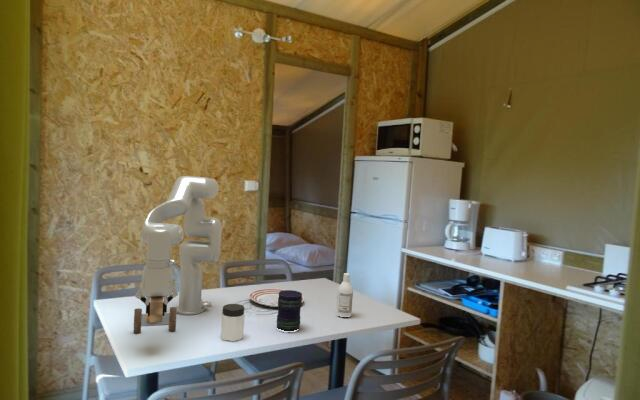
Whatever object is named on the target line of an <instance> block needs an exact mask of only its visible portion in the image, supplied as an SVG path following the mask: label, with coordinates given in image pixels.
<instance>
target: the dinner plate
mask: <svg viewBox="0 0 640 400" xmlns="http://www.w3.org/2000/svg"><path fill="white" fill-rule="evenodd" d="M284 290H285V289H283V288H282V289H281V288H261V289H256V290H253V291H251V292H250V293H249V294H248V298H249V299H250V300H251V301H253V302H254V303H256V304H258V305H261V306H263V305H265V306H264V307H267V306H272V307H271V308H275V307H278V305H268V304H263V303H260V302H259V299H260V298H263V297H265V296H268V295H279V292H280V291H284ZM304 301H305V298H304V296H303V295H302V303H304Z"/></svg>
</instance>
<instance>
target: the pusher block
mask: <svg viewBox="0 0 640 400" xmlns="http://www.w3.org/2000/svg"><path fill="white" fill-rule="evenodd" d="M163 301H164V299H163V296H159V297H151V298H150V323H154V322H162V314H163Z"/></svg>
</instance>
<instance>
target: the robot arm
mask: <svg viewBox="0 0 640 400" xmlns="http://www.w3.org/2000/svg"><path fill="white" fill-rule="evenodd" d="M219 189H220V188H219V184H218V181H217V180H216V179H214V178H210V177H204V176H192V175H186V176H185V175H183V176H182V175H181V176H179V177H178V178H177V179H176V180H175V182H174V183H173V186H172V188H171V191H170V193H169V196H168V198H167V201H165V202H163V203H161V204H159V205H157V206H156V207H155V208H153V209H152V210H151V211H150V212H149V213H148V214H147V215H146V217H145V220H144V222H143V224H142V227H141V231H140V237H141V239H142V241H143V242H144V243H146V264H145V265H144V266H143V270H142V276H141V287H139V289H138V290H137V291H136V293H135V294H134V297H135V298H136V299H138V300H140V301H141V302H142V303H143V304H144V305H145V314H148V317H149V316H150V299H151V297H159V296H163V314H162V316H164V314H165V313H168V305H169V303H170V302H171V301H172V300H173V299H175V298H176V297H178V305H176V306H175V307H176V308H177V313H176V314H179V315H186V316H189V315H191V316H192V315H198V314H202V313H203V312H204V311H205V307H206V308H207V307H208V308H209V307H212V306H213V305H212V302H211V301H210V302H209V301H208V300H207V301H203V299H202V292H203V291H202V289H203V274H204V273H203V268H202V267H201V265H200V264H199V263H204V264H216V263H217V262H219V259H220V255H221V244H222V242H221V241H222V240H221V239H222V223H221V221H220V219H219V218H217V217H213V216H206V215H205V213H206V212H205V211H206V210H205V209H206V204H205V203H204V201H203V199H207V200H210V199H211V200H213V199H215V198H216V197H217V196H218V194H219ZM183 215H184V217H183V218H184V221H183V223H184V224H183V226H181V225H179V224H176V223H165V222H164V221H165V220H171V219H173V218H176V217H181V216H183ZM185 236H186V237H188V238H195V239H196V240H194V239H193V240H192V239H189V240H184V241H183V239H184V237H185ZM197 239H207V240H208V241H207V240H197ZM180 243H181V244H180ZM179 244H180V245H179ZM176 245H179V249H178V252H179V253H178V254H179V263H180V272H179V289H178V290H179V292H178V291H177V289H176V288H175V286H174V275H173V268H172V265H173V264H175V259H171V247H172V246H176Z"/></svg>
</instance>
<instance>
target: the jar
mask: <svg viewBox="0 0 640 400" xmlns="http://www.w3.org/2000/svg"><path fill="white" fill-rule="evenodd" d="M220 327H221V328H220V337H221V340H222V341H225V340H230V341H229V342H232V341H234V342H237V341H240V340H239V339H241V340H243V339H244V329H245V306H244V305H242V304H239V303H228V304H225V305H223V306H222V312H221V326H220ZM242 338H243V339H242ZM236 340H237V341H236Z"/></svg>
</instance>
